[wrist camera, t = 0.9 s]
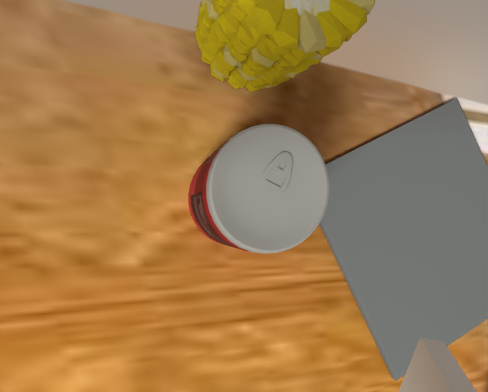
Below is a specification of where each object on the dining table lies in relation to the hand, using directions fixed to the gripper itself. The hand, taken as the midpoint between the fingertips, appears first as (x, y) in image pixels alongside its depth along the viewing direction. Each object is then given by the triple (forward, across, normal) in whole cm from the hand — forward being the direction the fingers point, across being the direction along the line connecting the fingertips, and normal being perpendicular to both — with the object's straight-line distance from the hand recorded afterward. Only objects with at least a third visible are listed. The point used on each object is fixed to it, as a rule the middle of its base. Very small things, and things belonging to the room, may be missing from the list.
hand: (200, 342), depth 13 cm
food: (+29, 0, +7) cm, 30 cm away
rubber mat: (+26, +20, -6) cm, 33 cm away
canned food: (+24, +1, -4) cm, 24 cm away
